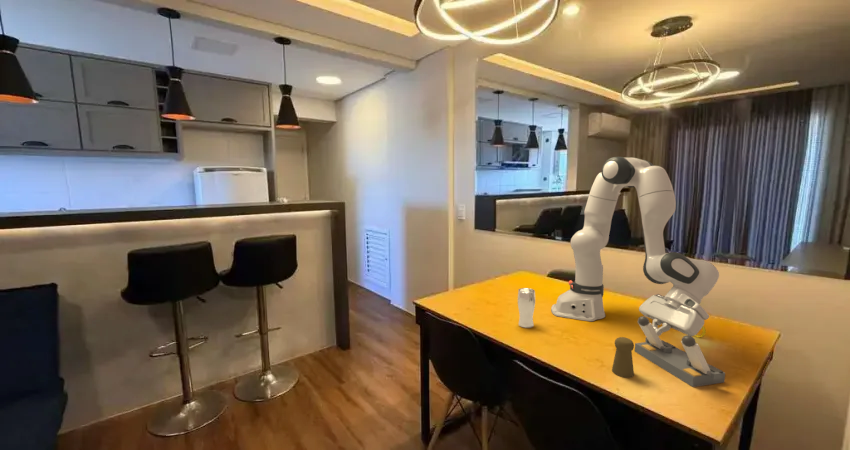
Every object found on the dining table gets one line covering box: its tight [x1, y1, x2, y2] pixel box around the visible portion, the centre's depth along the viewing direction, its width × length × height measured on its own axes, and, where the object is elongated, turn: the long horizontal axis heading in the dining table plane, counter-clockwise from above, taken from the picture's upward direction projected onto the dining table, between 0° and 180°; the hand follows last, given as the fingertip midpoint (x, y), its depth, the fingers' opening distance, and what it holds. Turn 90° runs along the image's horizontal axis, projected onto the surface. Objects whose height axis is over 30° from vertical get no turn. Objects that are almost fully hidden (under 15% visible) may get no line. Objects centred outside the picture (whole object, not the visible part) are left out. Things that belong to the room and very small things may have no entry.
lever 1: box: [637, 315, 664, 351], centre depth 119 cm, size 3×6×13 cm
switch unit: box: [634, 336, 726, 388], centre depth 112 cm, size 11×24×5 cm, turn 10°
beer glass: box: [517, 287, 536, 329], centre depth 147 cm, size 7×7×15 cm
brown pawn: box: [611, 336, 635, 379], centre depth 110 cm, size 6×6×11 cm
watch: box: [693, 325, 707, 339], centre depth 134 cm, size 6×3×6 cm, turn 23°
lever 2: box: [680, 334, 712, 376], centre depth 103 cm, size 3×6×13 cm
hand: (654, 333), depth 119 cm, fingers closed, pressing on lever 1
